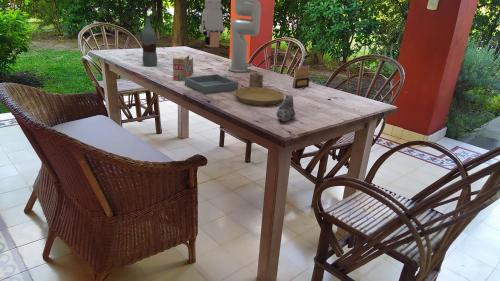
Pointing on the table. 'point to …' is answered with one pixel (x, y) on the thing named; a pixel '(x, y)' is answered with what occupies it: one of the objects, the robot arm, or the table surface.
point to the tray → (211, 84)
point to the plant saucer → (259, 96)
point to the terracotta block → (213, 39)
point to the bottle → (149, 45)
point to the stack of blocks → (182, 67)
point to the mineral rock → (286, 109)
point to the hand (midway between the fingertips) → (212, 44)
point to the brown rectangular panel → (301, 77)
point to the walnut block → (256, 80)
